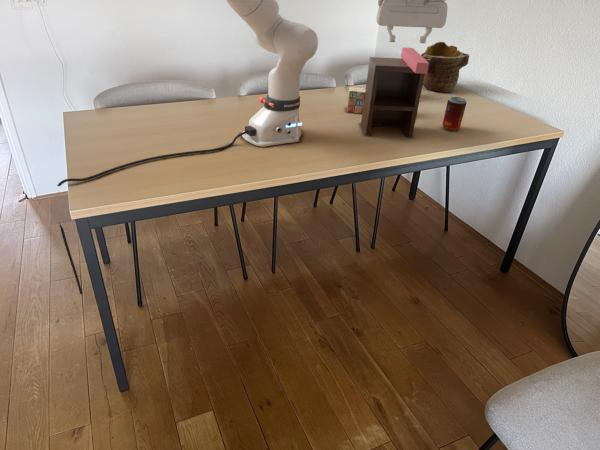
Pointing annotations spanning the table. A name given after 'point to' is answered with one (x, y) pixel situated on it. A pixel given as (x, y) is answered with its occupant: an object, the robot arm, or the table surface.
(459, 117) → the soda can
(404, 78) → the walnut shelf
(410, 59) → the pink block
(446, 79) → the brown wicker basket
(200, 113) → the table surface
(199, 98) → the table surface
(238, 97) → the table surface
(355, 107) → the stack of blocks
